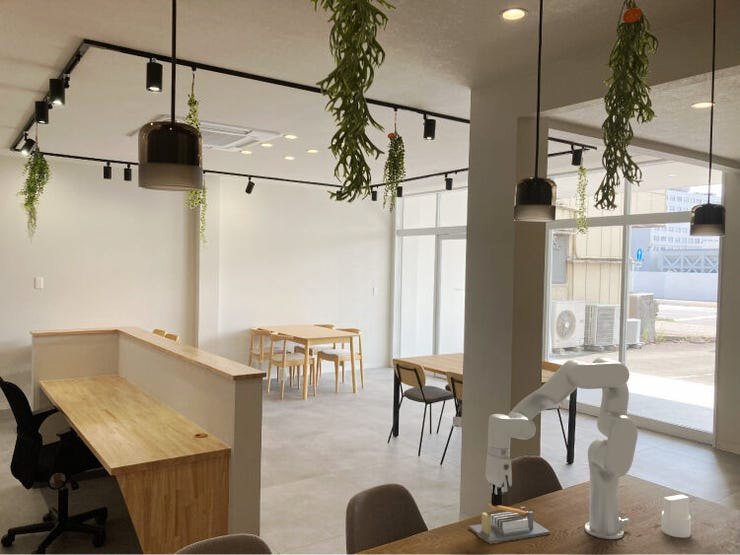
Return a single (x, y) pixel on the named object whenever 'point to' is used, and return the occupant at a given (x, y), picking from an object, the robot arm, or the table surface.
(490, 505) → the strap
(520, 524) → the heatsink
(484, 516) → the cpu board
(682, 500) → the white tapered canister
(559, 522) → the table surface
